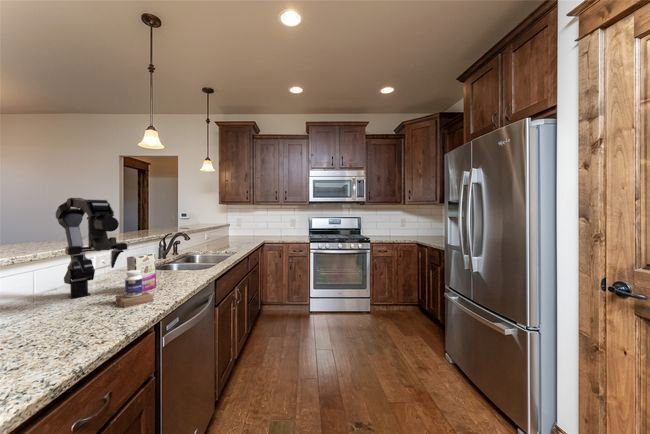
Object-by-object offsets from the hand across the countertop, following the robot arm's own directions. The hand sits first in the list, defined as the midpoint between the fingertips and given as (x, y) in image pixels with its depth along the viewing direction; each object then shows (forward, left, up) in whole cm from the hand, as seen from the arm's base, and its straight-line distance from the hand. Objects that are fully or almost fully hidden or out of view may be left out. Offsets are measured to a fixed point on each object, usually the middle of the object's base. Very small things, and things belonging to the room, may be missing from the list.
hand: (98, 269), depth 112 cm
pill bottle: (+11, +9, -11) cm, 18 cm away
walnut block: (+11, +9, -13) cm, 19 cm away
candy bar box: (-5, +17, -13) cm, 22 cm away
